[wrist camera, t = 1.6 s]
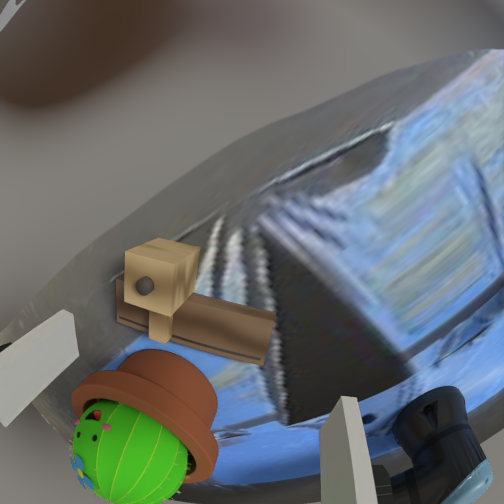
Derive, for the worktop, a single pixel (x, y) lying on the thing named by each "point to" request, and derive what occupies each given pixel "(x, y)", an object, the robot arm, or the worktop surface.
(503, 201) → the worktop surface
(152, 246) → the tan wooden block
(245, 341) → the board
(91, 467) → the potted cactus
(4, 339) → the worktop surface
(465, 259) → the worktop surface
